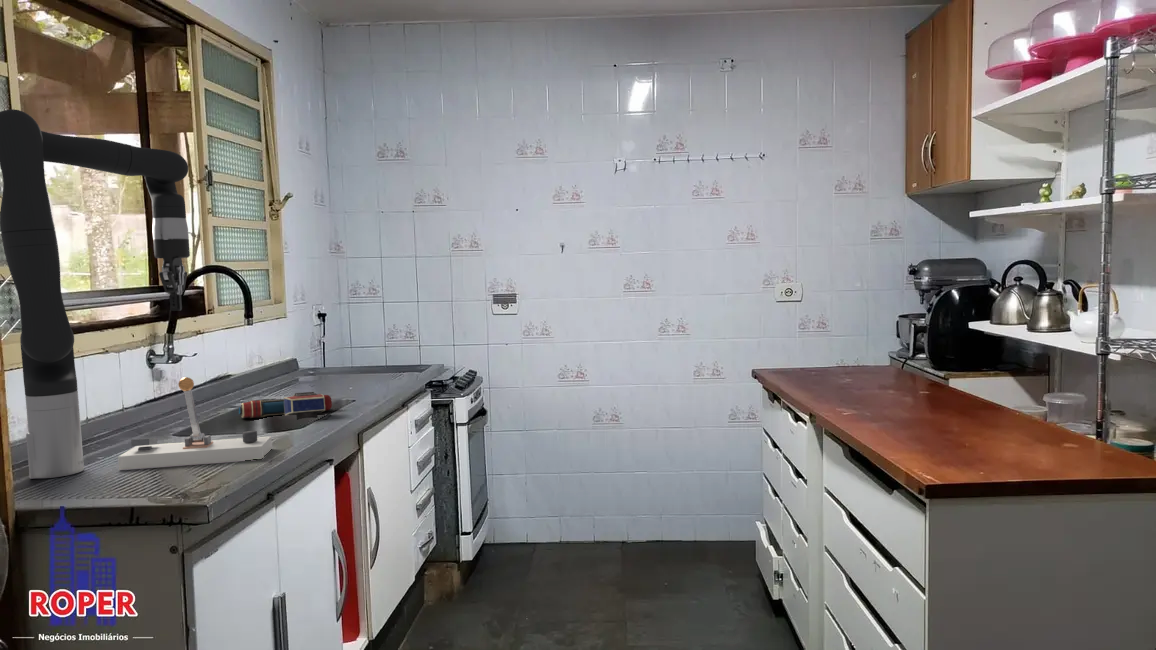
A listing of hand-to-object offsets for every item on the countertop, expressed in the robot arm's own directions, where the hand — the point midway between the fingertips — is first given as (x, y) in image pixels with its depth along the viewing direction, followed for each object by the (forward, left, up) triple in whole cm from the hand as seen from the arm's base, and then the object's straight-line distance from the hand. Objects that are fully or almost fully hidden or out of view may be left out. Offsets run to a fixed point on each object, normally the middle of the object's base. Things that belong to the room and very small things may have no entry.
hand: (176, 310), depth 186 cm
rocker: (-8, -14, -28) cm, 33 cm away
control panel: (+3, -17, -33) cm, 37 cm away
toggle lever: (+3, -17, -28) cm, 33 cm away
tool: (+26, +26, -34) cm, 50 cm away
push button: (+14, -20, -30) cm, 38 cm away
